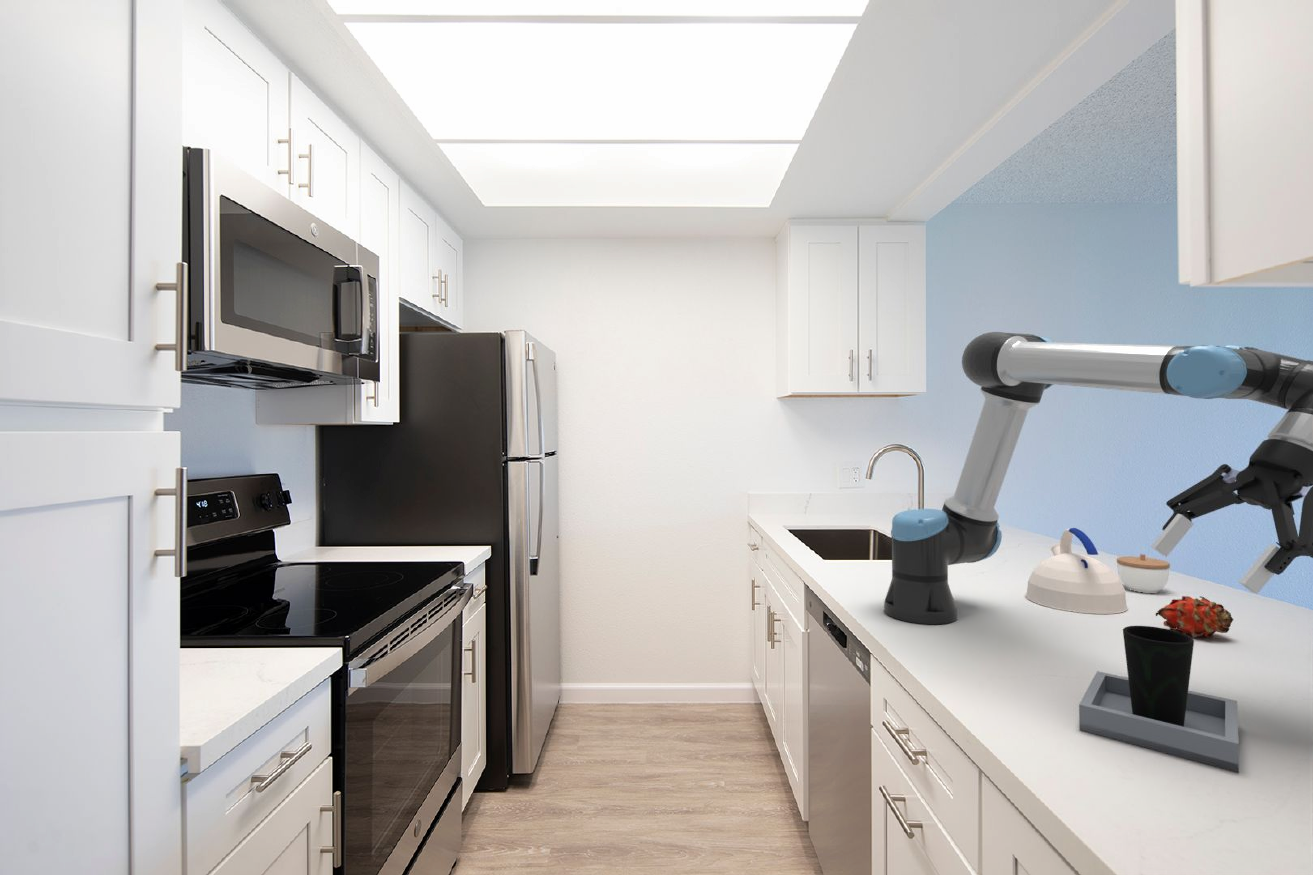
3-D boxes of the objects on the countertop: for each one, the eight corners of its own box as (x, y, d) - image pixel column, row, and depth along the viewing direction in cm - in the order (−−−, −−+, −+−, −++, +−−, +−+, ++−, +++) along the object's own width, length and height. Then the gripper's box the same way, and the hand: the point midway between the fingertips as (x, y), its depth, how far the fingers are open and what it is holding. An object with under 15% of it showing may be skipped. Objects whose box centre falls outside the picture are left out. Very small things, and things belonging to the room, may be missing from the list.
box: (1079, 729, 85) (1079, 704, 85) (1097, 693, 96) (1097, 671, 96) (1238, 772, 74) (1238, 743, 74) (1237, 725, 85) (1237, 700, 85)
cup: (1208, 735, 81) (1208, 645, 81) (1142, 730, 82) (1142, 641, 82) (1171, 709, 88) (1171, 626, 88) (1112, 705, 90) (1111, 624, 90)
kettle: (1101, 593, 155) (1101, 522, 155) (1146, 617, 135) (1146, 536, 135) (1013, 589, 160) (1013, 521, 160) (1044, 612, 140) (1044, 533, 140)
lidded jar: (1132, 595, 153) (1132, 558, 153) (1108, 584, 164) (1107, 549, 164) (1180, 596, 151) (1180, 559, 151) (1152, 586, 162) (1152, 550, 162)
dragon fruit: (1240, 650, 119) (1161, 648, 125) (1228, 615, 125) (1154, 614, 131) (1239, 621, 115) (1157, 620, 122) (1226, 587, 121) (1150, 587, 128)
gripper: (1427, 488, 76) (1312, 621, 78) (1227, 448, 101) (1143, 550, 103) (1391, 455, 75) (1274, 592, 77) (1197, 423, 99) (1113, 527, 102)
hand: (1199, 568), depth 90 cm, fingers open, 13 cm apart
